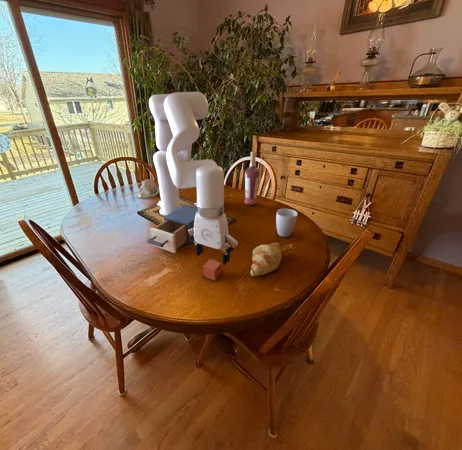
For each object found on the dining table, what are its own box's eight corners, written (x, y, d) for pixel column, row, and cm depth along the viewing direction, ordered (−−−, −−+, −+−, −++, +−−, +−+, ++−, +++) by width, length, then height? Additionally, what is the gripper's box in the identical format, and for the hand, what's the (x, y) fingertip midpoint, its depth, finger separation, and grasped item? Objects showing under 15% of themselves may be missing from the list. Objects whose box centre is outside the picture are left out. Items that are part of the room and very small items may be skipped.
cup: (294, 230, 103) (297, 209, 98) (293, 240, 96) (297, 218, 92) (274, 228, 106) (277, 207, 101) (273, 237, 99) (275, 215, 94)
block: (203, 276, 79) (203, 265, 77) (210, 269, 82) (210, 258, 80) (214, 280, 77) (214, 270, 75) (221, 273, 80) (221, 262, 78)
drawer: (167, 259, 87) (164, 241, 83) (145, 250, 92) (141, 233, 89) (194, 237, 100) (193, 220, 96) (173, 230, 105) (171, 215, 102)
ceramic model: (149, 199, 142) (147, 183, 137) (134, 197, 146) (131, 181, 141) (162, 191, 153) (160, 176, 148) (148, 189, 157) (146, 175, 152)
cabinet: (190, 244, 97) (188, 223, 92) (166, 236, 103) (163, 216, 98) (208, 228, 107) (208, 209, 103) (186, 222, 114) (184, 204, 109)
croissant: (259, 290, 77) (272, 278, 71) (236, 269, 79) (246, 256, 74) (283, 257, 91) (295, 244, 86) (262, 240, 94) (273, 227, 88)
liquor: (258, 206, 127) (262, 153, 113) (244, 207, 127) (246, 153, 114) (255, 201, 133) (259, 150, 120) (242, 201, 133) (244, 150, 120)
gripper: (179, 208, 70) (183, 256, 78) (232, 221, 61) (231, 273, 69) (193, 200, 75) (196, 245, 83) (244, 210, 67) (242, 259, 74)
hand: (212, 258), depth 76 cm, fingers open, 9 cm apart
